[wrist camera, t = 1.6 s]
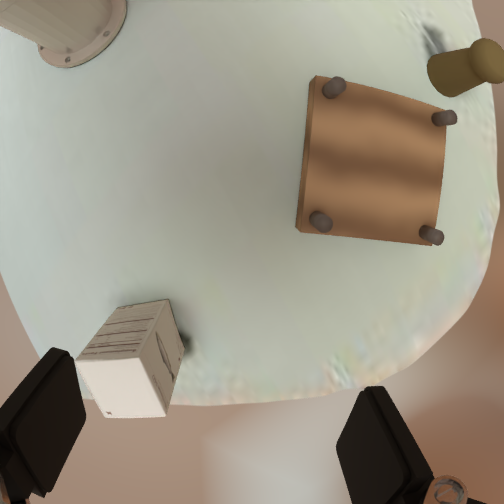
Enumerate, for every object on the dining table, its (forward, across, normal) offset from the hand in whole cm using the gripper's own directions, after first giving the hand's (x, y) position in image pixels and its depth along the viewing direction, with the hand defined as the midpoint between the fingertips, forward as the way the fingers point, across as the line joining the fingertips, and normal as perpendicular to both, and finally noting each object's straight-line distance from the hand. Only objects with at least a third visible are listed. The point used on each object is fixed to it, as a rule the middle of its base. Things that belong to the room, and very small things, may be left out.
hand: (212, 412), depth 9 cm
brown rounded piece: (+26, -24, -24) cm, 43 cm away
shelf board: (+26, -14, -10) cm, 31 cm away
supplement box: (+26, +9, +13) cm, 31 cm away
